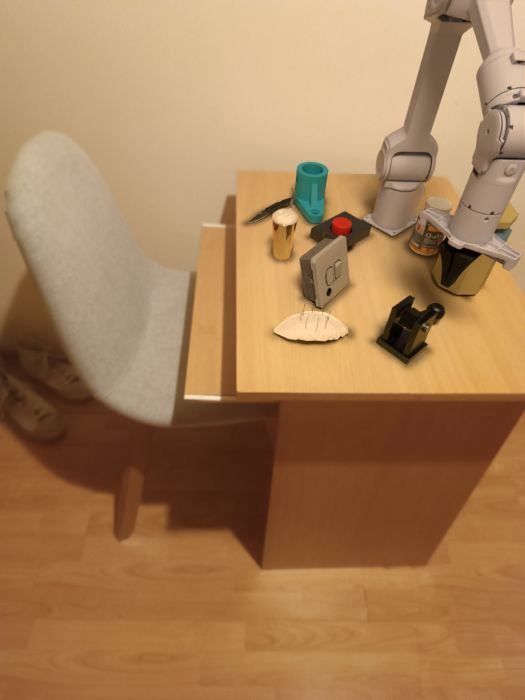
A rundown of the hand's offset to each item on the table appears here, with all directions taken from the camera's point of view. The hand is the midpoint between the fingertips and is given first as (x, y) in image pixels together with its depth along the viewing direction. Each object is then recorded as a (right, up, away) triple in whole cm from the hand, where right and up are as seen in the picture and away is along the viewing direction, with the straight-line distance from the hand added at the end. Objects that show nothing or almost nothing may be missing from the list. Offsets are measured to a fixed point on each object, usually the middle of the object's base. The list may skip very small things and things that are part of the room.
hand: (447, 283), depth 71 cm
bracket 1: (-18, +20, +28) cm, 39 cm away
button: (-14, +12, +16) cm, 25 cm away
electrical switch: (-18, 0, +10) cm, 21 cm away
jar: (+7, +2, +14) cm, 15 cm away
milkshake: (-25, +8, +17) cm, 31 cm away
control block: (-13, +12, +21) cm, 27 cm away
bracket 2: (-7, -10, +2) cm, 12 cm away
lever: (-4, -6, +2) cm, 7 cm away
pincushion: (-21, -8, +3) cm, 22 cm away
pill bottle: (+3, +10, +20) cm, 23 cm away
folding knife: (-26, +18, +25) cm, 40 cm away
